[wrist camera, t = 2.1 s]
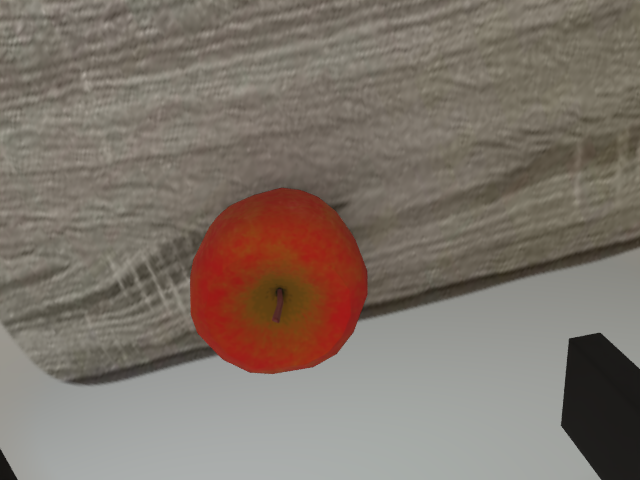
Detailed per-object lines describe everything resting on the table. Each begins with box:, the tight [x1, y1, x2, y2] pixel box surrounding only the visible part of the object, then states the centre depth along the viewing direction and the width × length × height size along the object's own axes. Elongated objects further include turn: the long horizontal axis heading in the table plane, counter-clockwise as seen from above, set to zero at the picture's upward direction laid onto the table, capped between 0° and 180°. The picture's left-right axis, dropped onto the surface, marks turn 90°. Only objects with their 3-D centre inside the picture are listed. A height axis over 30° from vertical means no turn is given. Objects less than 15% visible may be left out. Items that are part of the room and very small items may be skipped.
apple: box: [190, 188, 367, 374], centre depth 19 cm, size 6×6×8 cm
